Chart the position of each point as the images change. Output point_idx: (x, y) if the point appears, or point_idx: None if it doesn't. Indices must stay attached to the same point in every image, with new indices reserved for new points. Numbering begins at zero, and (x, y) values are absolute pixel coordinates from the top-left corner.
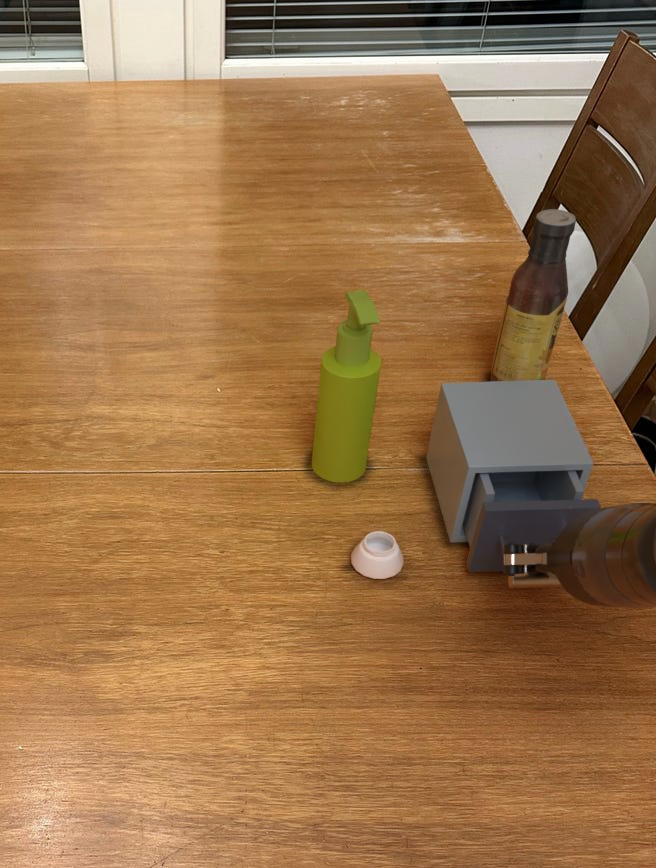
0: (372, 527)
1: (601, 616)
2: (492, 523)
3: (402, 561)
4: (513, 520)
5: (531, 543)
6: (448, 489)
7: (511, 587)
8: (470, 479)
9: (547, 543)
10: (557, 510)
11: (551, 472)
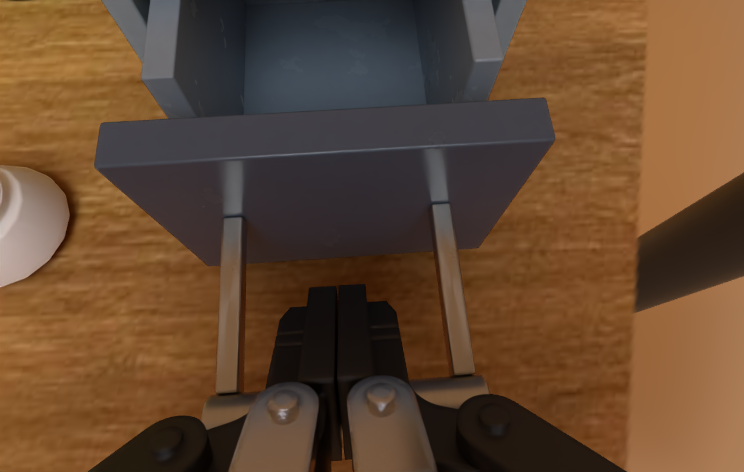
0: (45, 119)
1: (522, 391)
2: (166, 195)
3: (51, 236)
4: (235, 186)
5: (156, 449)
6: None
7: None
8: (122, 11)
9: (269, 406)
10: (387, 155)
11: None
